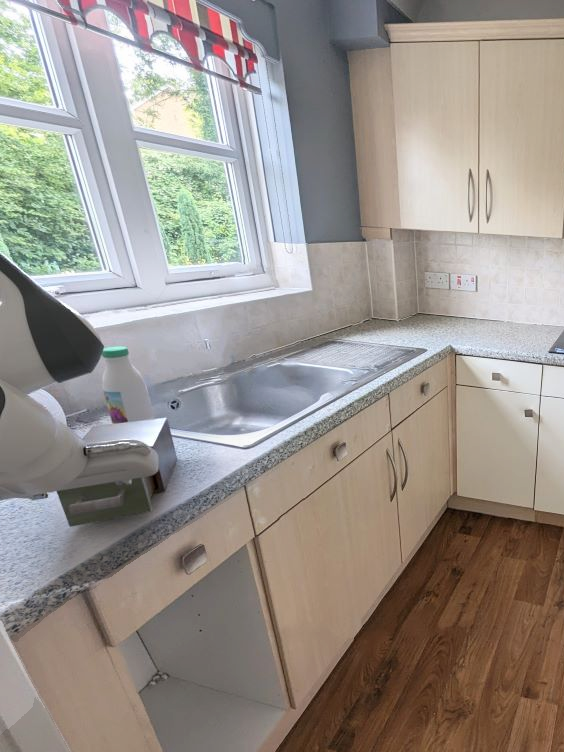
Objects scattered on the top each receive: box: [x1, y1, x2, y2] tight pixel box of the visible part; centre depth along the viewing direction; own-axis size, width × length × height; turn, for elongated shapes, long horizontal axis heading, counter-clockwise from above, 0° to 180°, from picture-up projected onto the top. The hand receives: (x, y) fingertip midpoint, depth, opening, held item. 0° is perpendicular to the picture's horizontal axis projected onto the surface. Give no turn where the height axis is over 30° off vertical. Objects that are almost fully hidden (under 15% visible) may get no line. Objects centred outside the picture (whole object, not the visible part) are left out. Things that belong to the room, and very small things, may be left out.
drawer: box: [56, 474, 157, 528], centre depth 78 cm, size 18×10×8 cm, turn 29°
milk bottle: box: [101, 346, 156, 424], centre depth 106 cm, size 8×8×20 cm
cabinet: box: [82, 417, 178, 495], centre depth 87 cm, size 15×12×10 cm
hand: (84, 487), depth 68 cm, fingers open, 8 cm apart
